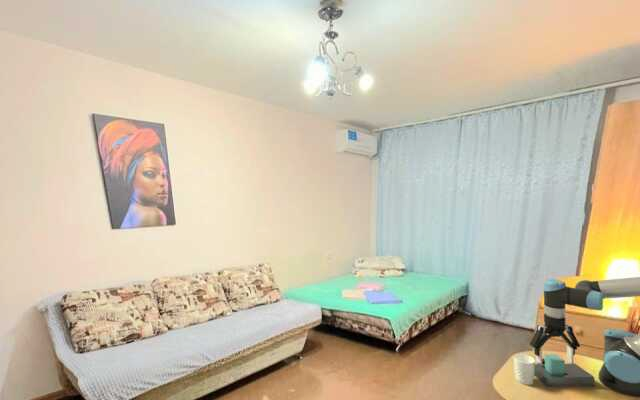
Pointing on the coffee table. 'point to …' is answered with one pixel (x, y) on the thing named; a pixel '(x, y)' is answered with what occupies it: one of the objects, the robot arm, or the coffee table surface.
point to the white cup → (524, 368)
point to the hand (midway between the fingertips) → (554, 362)
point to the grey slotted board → (564, 376)
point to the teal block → (554, 364)
